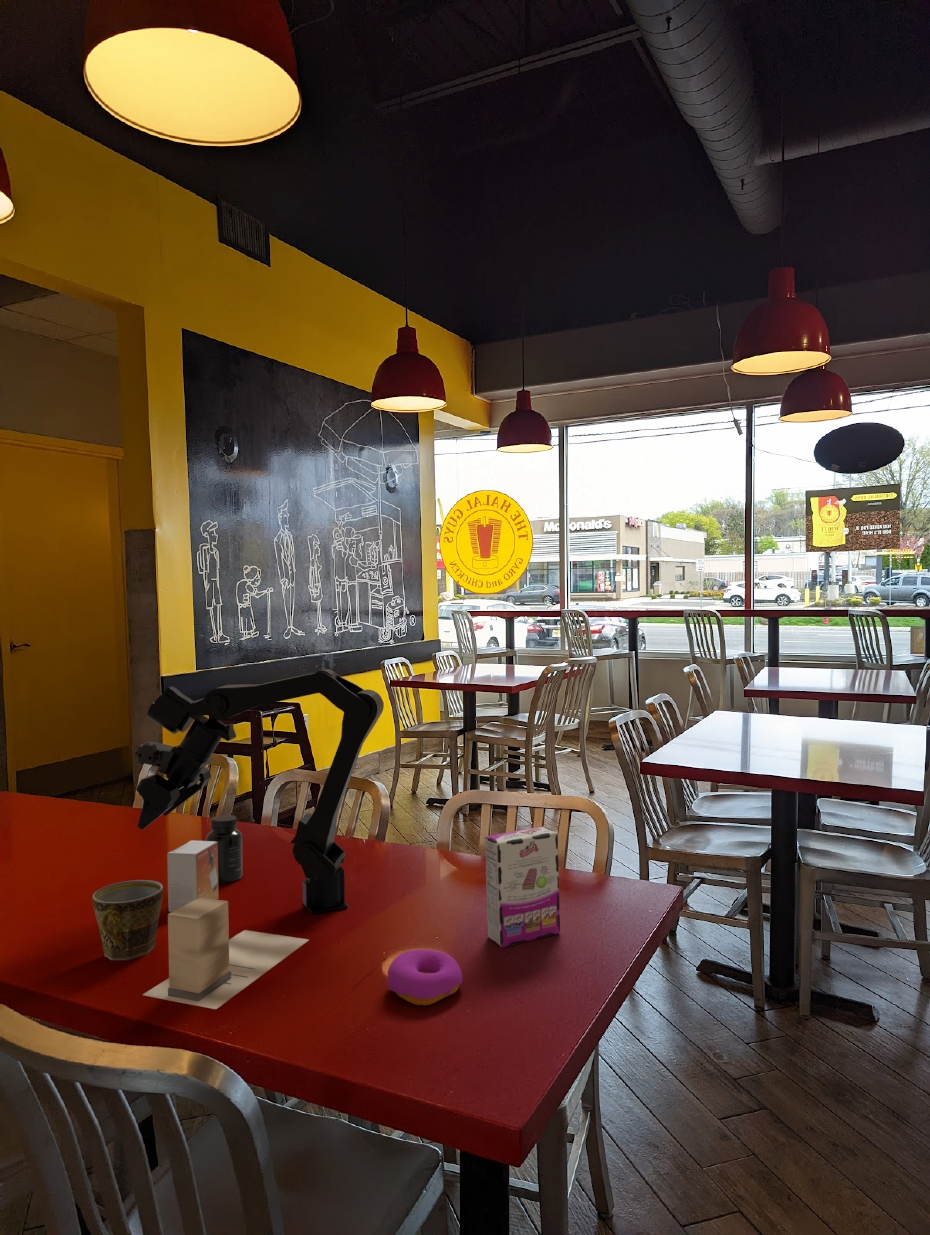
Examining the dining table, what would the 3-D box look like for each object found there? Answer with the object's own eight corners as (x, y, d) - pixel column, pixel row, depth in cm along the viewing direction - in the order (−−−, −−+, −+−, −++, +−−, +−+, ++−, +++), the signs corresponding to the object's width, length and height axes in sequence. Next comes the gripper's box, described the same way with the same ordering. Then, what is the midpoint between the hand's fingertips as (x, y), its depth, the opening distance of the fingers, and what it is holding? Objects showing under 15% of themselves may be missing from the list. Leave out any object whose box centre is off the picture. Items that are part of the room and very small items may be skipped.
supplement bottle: (198, 882, 157) (197, 820, 157) (221, 871, 163) (220, 812, 163) (227, 886, 154) (226, 823, 154) (250, 875, 161) (248, 814, 160)
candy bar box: (544, 923, 134) (542, 825, 134) (561, 934, 130) (559, 832, 130) (484, 937, 129) (483, 834, 129) (500, 949, 125) (499, 842, 124)
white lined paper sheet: (244, 935, 131) (244, 930, 131) (309, 944, 127) (309, 939, 127) (142, 1000, 110) (142, 994, 110) (216, 1015, 106) (215, 1009, 106)
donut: (420, 1018, 104) (420, 983, 104) (371, 992, 112) (371, 959, 112) (476, 990, 112) (476, 957, 112) (427, 967, 119) (427, 936, 119)
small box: (196, 914, 140) (195, 854, 140) (167, 912, 141) (166, 852, 141) (219, 898, 148) (218, 840, 148) (191, 896, 149) (190, 839, 149)
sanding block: (201, 973, 116) (200, 896, 116) (231, 978, 114) (229, 900, 114) (167, 995, 109) (166, 914, 109) (198, 1001, 108) (196, 919, 107)
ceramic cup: (112, 942, 129) (111, 879, 129) (174, 942, 129) (173, 879, 129) (70, 979, 116) (69, 910, 116) (139, 980, 116) (137, 910, 116)
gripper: (181, 716, 154) (139, 785, 155) (134, 732, 136) (87, 810, 137) (229, 748, 154) (187, 816, 155) (189, 767, 135) (142, 846, 136)
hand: (152, 821), depth 146 cm, fingers open, 9 cm apart
